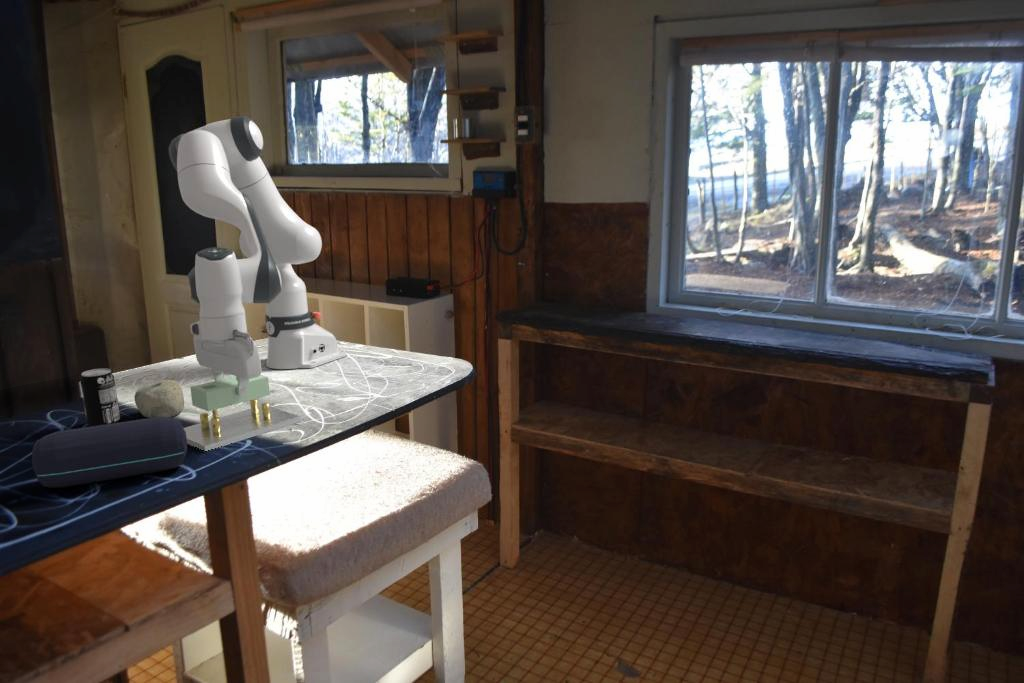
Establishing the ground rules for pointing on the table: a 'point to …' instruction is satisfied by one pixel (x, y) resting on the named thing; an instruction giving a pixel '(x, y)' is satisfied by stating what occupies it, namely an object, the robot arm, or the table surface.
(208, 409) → the board
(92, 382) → the beverage can
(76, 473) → the portable speaker
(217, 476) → the table surface
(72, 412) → the table surface
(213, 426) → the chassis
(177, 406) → the stone
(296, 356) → the robot arm
